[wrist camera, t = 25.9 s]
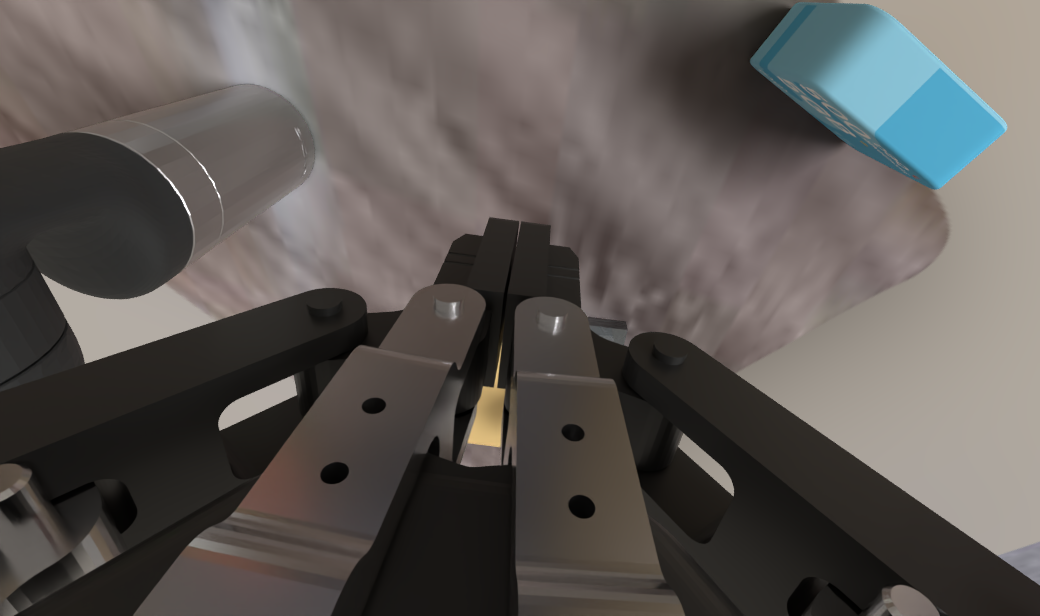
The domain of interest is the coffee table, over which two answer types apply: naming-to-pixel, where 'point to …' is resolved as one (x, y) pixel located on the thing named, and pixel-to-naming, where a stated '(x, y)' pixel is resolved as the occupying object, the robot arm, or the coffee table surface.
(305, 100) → the coffee table surface
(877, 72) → the data package
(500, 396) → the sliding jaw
